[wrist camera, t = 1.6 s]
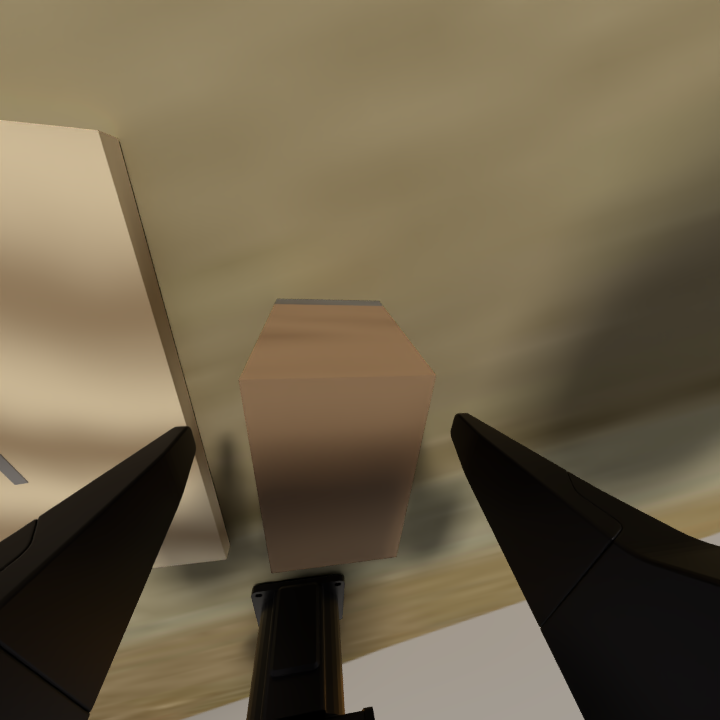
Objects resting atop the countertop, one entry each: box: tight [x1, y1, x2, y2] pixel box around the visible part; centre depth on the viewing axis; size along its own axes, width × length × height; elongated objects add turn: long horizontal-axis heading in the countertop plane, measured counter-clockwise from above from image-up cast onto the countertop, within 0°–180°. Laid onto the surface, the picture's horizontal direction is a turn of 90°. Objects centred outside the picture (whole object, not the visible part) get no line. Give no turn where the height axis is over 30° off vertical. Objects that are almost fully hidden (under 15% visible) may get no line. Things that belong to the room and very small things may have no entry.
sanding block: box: [239, 299, 436, 573], centre depth 10 cm, size 7×4×6 cm, turn 177°
